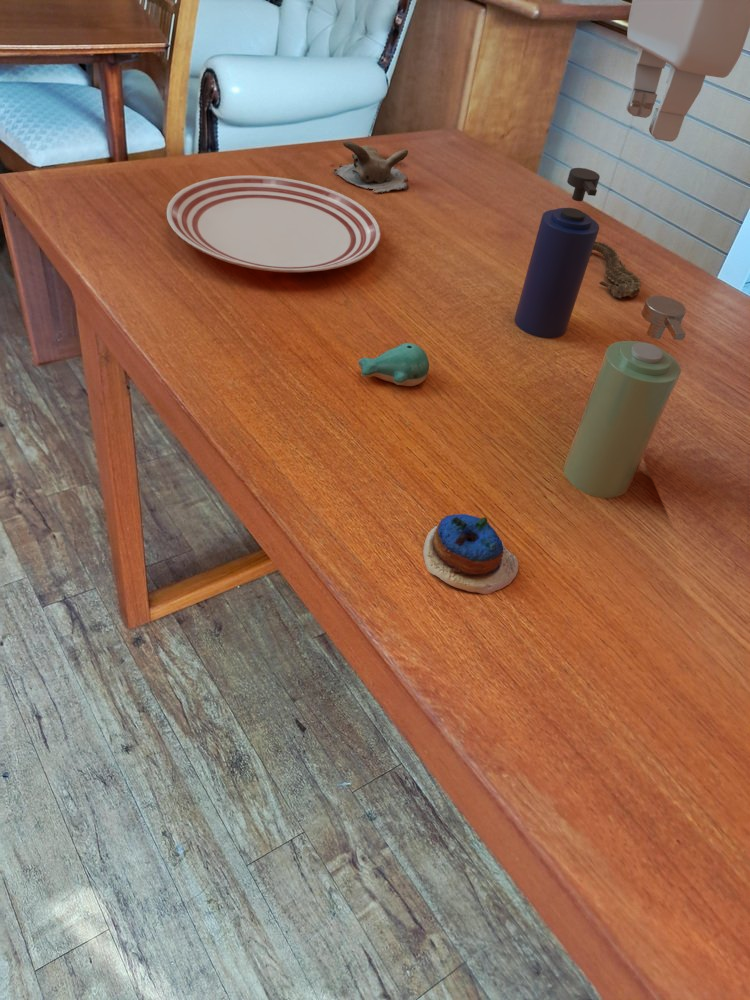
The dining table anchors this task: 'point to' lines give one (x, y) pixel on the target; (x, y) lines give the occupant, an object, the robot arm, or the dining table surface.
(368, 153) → the skull
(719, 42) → the robot arm
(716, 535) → the dining table surface
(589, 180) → the black dispenser pump head
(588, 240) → the bottle navy
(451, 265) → the dining table surface
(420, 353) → the whale figurine
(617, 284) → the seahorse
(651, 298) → the grey round-capped part
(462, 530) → the dessert
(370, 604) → the dining table surface
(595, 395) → the bottle green
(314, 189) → the dinner plate
